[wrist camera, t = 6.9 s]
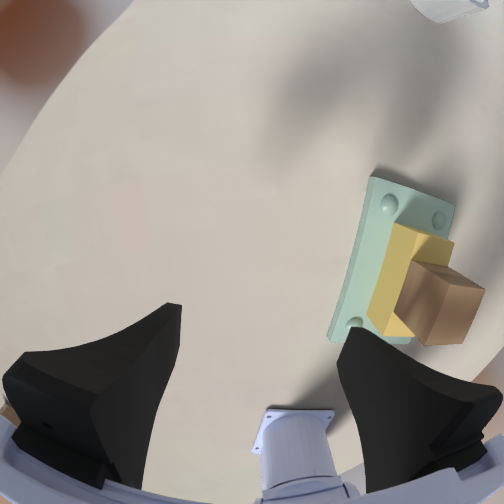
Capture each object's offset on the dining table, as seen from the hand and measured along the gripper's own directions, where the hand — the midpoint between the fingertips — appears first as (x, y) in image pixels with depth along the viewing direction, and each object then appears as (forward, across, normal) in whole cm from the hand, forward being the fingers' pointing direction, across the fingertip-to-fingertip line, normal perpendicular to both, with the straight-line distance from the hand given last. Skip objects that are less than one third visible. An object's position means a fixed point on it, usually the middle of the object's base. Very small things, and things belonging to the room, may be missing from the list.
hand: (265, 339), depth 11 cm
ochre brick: (+9, -12, -1) cm, 15 cm away
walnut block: (+6, -12, -1) cm, 13 cm away
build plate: (+10, -12, -1) cm, 16 cm away
